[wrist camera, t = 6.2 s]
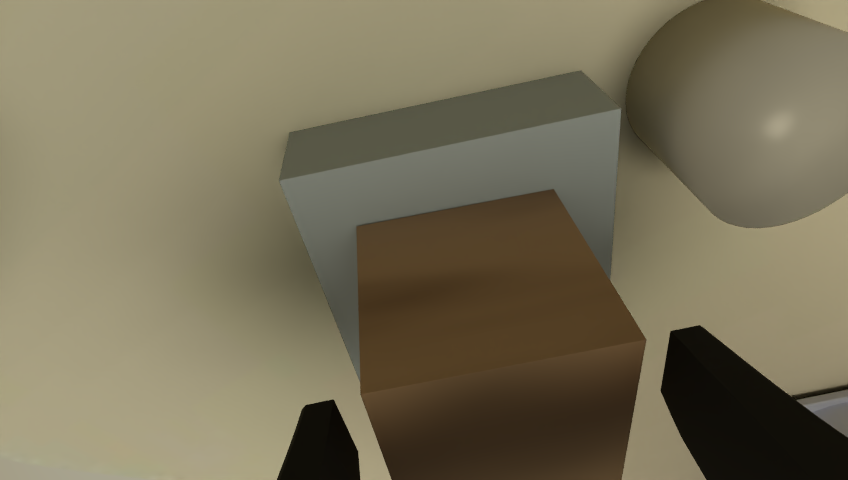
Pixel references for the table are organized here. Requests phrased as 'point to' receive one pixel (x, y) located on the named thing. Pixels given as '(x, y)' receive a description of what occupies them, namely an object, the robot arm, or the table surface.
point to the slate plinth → (451, 171)
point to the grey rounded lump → (747, 109)
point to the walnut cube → (494, 345)
